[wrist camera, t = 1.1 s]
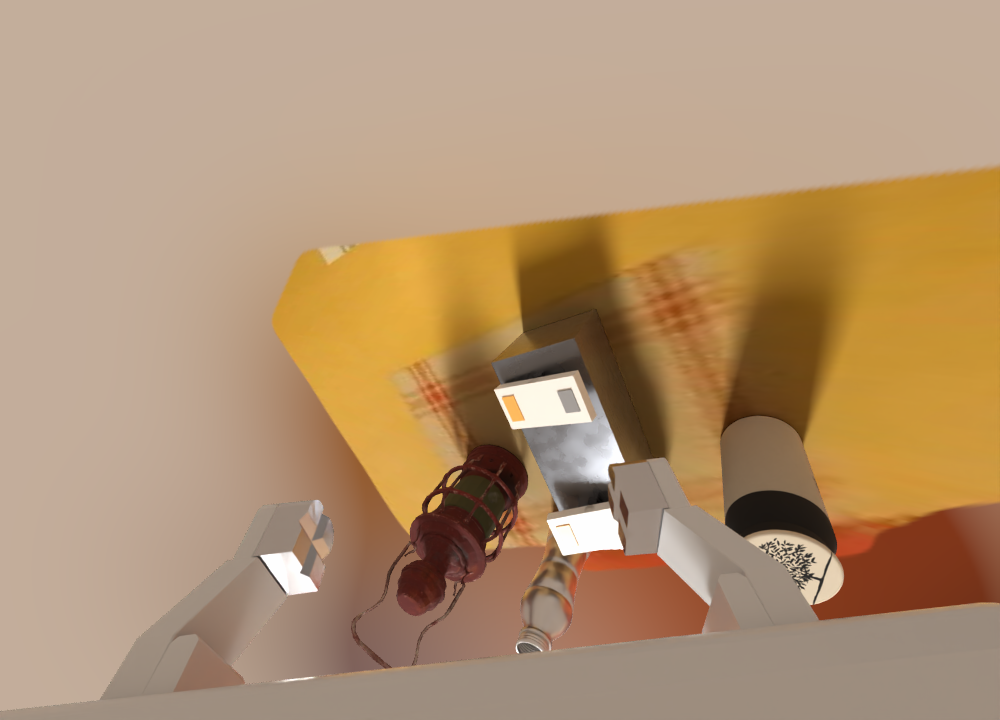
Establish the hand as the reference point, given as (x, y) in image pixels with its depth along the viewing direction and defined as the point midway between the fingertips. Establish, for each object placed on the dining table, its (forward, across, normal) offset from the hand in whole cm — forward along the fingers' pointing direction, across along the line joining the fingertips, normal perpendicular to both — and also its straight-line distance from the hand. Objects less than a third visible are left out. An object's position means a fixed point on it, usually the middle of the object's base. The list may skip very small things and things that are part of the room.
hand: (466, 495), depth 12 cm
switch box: (+34, -12, +28) cm, 45 cm away
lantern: (+38, +2, +41) cm, 56 cm away
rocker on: (+26, -4, +18) cm, 32 cm away
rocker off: (+21, -9, +33) cm, 40 cm away
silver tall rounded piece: (+32, -8, +48) cm, 58 cm away
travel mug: (+26, -29, +28) cm, 48 cm away
